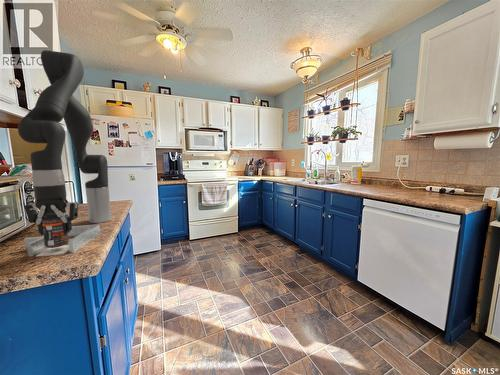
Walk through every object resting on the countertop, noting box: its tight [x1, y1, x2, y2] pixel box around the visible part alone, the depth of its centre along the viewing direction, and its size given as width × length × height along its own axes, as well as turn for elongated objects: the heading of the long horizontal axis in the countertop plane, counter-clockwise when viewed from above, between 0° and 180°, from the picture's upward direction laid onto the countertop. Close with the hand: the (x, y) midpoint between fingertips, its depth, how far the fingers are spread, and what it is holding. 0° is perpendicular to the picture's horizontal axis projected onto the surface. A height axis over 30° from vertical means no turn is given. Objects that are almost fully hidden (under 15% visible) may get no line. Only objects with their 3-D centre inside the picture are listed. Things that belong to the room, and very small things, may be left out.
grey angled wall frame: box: [23, 224, 101, 257], centre depth 75 cm, size 18×17×4 cm
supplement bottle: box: [42, 213, 70, 249], centre depth 69 cm, size 6×6×11 cm
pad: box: [35, 244, 69, 257], centre depth 70 cm, size 8×8×1 cm
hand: (55, 233), depth 69 cm, fingers closed on supplement bottle, 6 cm apart
